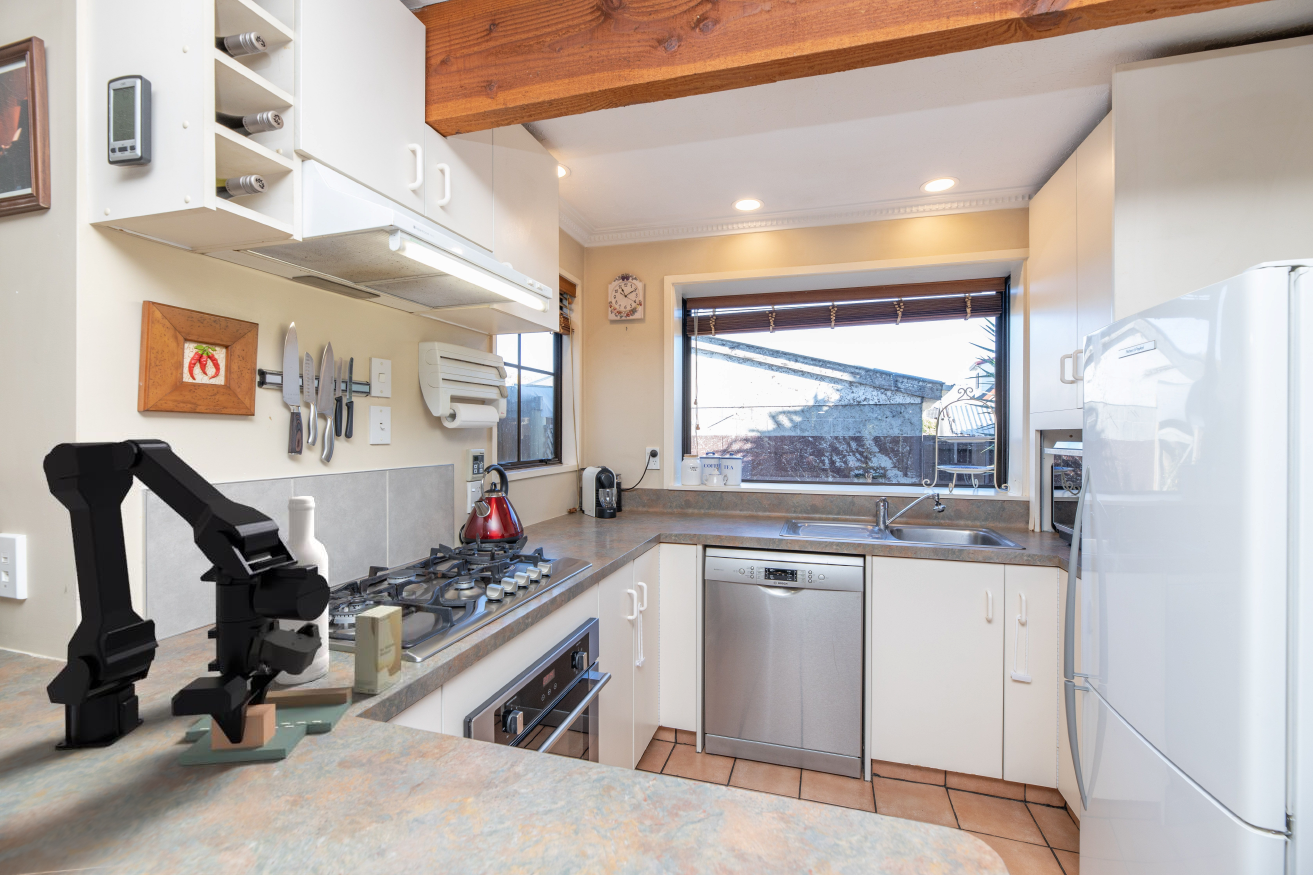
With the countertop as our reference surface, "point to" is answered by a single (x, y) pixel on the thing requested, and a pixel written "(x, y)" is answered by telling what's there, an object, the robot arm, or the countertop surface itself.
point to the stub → (246, 740)
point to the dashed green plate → (297, 709)
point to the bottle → (316, 554)
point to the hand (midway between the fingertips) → (244, 735)
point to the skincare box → (377, 649)
